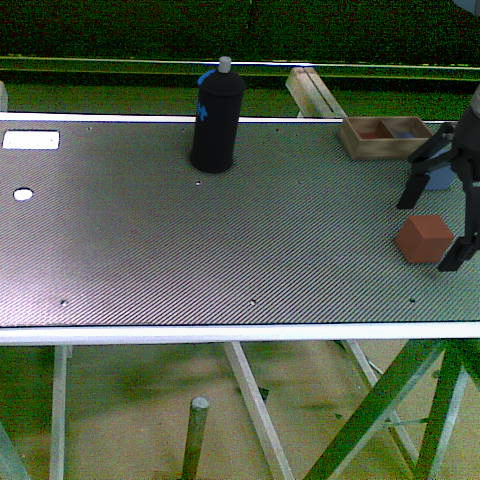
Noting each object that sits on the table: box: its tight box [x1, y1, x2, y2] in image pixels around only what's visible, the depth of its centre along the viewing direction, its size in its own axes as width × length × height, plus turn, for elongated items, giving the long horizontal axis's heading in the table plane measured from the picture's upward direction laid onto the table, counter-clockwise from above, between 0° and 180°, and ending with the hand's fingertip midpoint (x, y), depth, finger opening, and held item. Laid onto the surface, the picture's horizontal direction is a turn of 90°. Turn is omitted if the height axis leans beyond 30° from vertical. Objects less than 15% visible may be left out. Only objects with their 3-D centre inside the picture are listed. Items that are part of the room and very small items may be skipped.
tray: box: [336, 115, 435, 161], centre depth 95 cm, size 16×9×4 cm, turn 95°
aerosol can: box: [189, 55, 247, 174], centre depth 84 cm, size 8×8×20 cm
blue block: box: [409, 148, 457, 191], centre depth 87 cm, size 5×5×6 cm
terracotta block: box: [394, 214, 456, 264], centre depth 74 cm, size 5×5×6 cm
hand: (423, 237), depth 74 cm, fingers open, 13 cm apart
